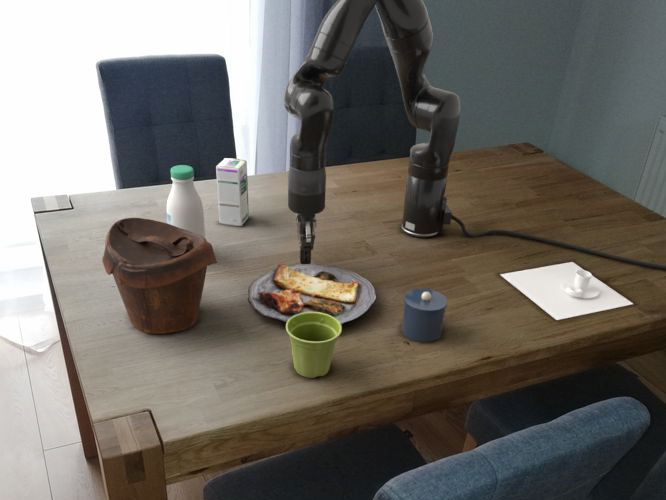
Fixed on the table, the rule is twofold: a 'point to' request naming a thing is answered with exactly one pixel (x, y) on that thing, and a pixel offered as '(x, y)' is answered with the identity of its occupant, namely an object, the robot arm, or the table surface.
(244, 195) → the syrup box
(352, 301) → the food plate
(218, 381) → the table surface
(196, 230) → the milk bottle
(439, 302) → the sugar pot
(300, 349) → the plant pot
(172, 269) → the brown covered bucket
